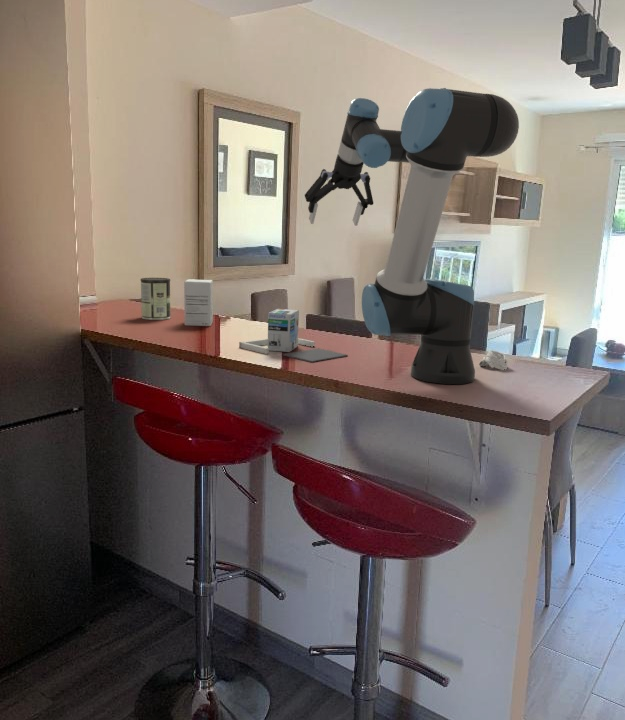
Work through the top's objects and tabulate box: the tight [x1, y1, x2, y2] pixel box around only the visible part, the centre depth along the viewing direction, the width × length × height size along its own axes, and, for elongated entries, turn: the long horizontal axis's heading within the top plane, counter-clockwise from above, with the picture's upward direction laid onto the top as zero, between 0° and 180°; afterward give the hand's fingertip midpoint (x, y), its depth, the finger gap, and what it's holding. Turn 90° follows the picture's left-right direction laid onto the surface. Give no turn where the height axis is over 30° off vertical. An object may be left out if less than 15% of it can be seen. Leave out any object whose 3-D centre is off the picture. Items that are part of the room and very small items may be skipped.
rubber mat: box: [282, 347, 348, 363], centre depth 174 cm, size 11×14×1 cm
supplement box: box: [183, 278, 214, 327], centre depth 219 cm, size 9×9×15 cm
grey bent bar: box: [238, 337, 316, 355], centre depth 184 cm, size 12×19×2 cm, turn 136°
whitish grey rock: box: [478, 349, 508, 371], centre depth 169 cm, size 8×7×5 cm
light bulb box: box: [267, 308, 300, 353], centre depth 182 cm, size 11×7×11 cm, turn 168°
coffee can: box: [140, 277, 171, 321], centre depth 228 cm, size 10×10×14 cm
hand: (333, 222), depth 188 cm, fingers open, 13 cm apart
